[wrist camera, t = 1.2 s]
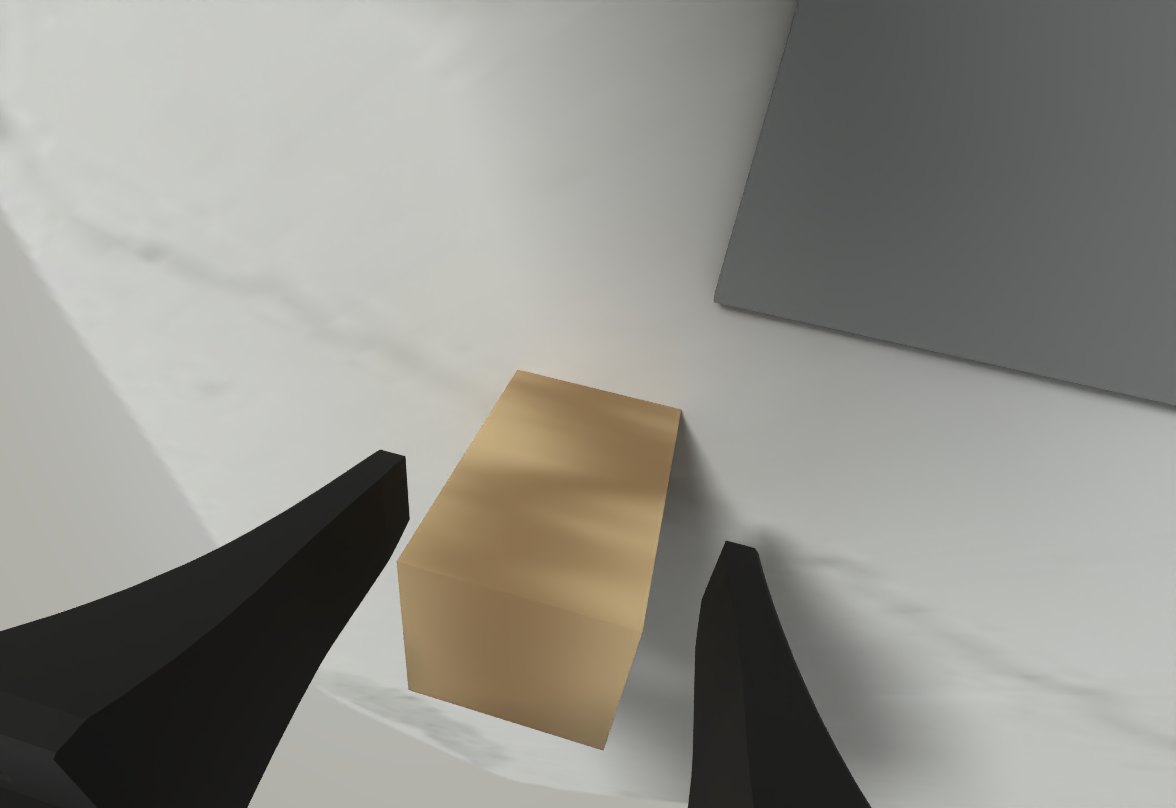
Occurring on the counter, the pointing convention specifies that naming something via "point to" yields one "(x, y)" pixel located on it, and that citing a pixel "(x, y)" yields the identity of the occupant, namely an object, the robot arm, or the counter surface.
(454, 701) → the oak block
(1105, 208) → the mat
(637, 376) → the counter surface
